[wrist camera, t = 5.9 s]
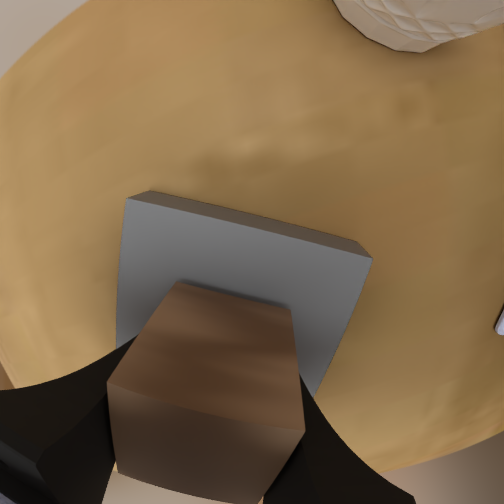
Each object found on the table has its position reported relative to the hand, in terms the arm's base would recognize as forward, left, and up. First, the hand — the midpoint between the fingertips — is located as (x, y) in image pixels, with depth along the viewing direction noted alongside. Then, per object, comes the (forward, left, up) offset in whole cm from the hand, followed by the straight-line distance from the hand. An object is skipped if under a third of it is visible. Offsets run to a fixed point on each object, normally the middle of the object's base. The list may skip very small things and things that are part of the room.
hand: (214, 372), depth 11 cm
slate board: (0, 0, -5) cm, 5 cm away
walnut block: (0, 0, -2) cm, 2 cm away
